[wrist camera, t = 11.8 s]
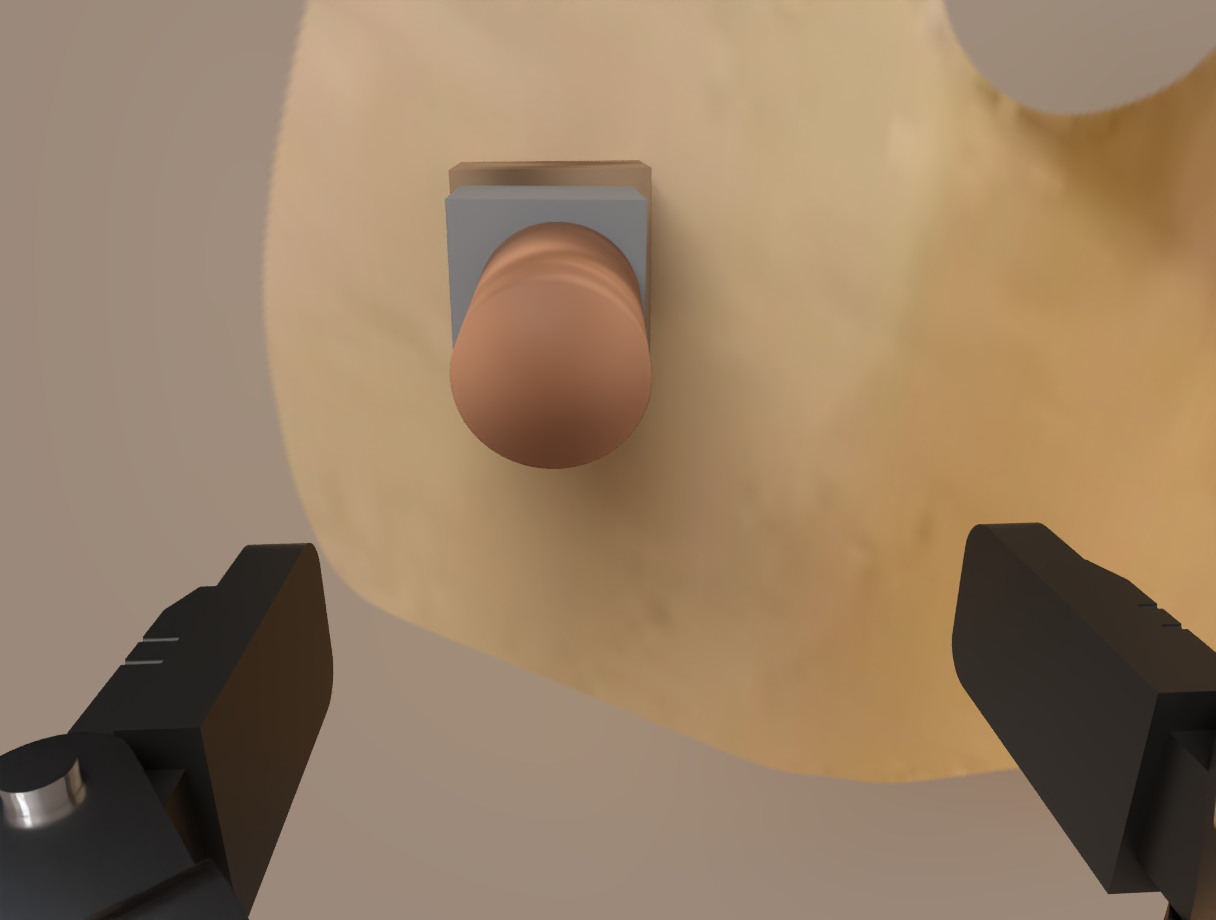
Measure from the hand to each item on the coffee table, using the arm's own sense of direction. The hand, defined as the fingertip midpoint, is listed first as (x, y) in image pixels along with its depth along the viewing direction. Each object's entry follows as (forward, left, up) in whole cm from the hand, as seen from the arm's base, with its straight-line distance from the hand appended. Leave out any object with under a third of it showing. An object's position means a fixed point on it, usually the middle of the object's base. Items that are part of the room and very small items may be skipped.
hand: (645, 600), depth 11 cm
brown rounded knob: (+1, 0, -18) cm, 18 cm away
